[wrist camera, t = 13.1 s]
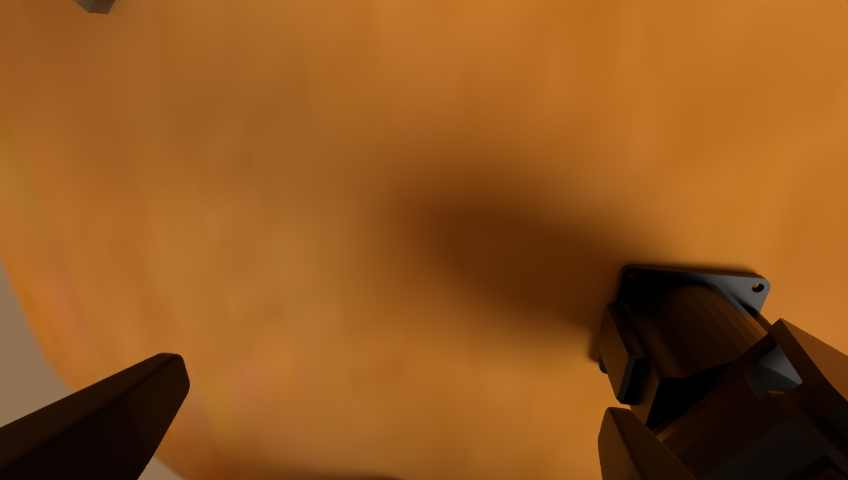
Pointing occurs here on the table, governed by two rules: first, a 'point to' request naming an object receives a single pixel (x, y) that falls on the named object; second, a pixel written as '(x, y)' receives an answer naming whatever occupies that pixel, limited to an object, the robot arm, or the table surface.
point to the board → (96, 5)
